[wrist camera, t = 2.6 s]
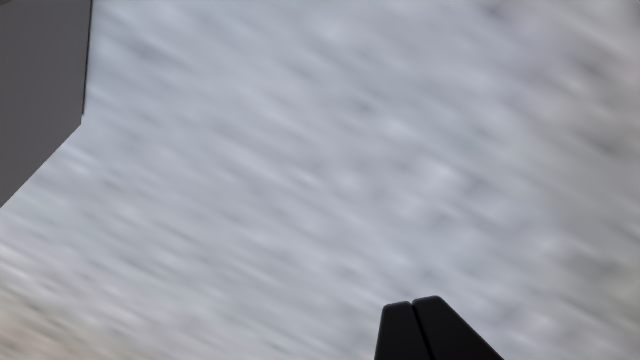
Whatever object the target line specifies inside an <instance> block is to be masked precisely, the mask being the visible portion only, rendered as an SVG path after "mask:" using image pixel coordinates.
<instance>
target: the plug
mask: <svg viewBox="0 0 640 360" xmlns="http://www.w3.org/2000/svg"><path fill="white" fill-rule="evenodd" d="M90 4H91V0H0V208H1V207H2V206H3V205H4V204H5V203H6V202H7V201H8V200H9V199H10V198H11V197H12V195H13V194H14V193H15V192H16V191H17V190H18V189H19V188H20V187H21V186H22V185H23V184H24V183H25V182H26V181H27V180H28V179H29V178H30V177H31V176H32V175H33V174H34V173H35V171H36V170H37V169H38V168H39V167H40V166H41V165H42V164H43V163H44V162H45V161H46V160H47V159H48V158H49V157H50V156H51V155H52V154H53V153H54V152H55V151H56V150H57V149H58V147H59V146H60V145H61V144H62V143H63V142H64V141H65V140H66V139H67V138H68V137H69V136H70V135H71V134H72V133H73V132H74V131H75V130H76V129H77V128H78V127H79V126H80V125H81V117H82V105H83V92H84V80H85V67H86V54H87V42H88V29H89V17H90Z"/></svg>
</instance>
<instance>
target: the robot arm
mask: <svg viewBox="0 0 640 360" xmlns="http://www.w3.org/2000/svg"><path fill="white" fill-rule="evenodd" d="M374 360H504V359H503V358H502V357H501V356H500V355H499V354H498V353H497V352H496V351H495V350H494V349H493V348H492V347H491V346H490V345H489V344H488V343H487V342H486V341H485V340H484V339H483V338H482V337H481V336H480V335H479V334H478V333H477V332H476V331H475V330H474V329H473V328H472V327H471V326H470V325H468V324H467V323H466V322H465V321H464V320H463V319H462V318H461V317H460V316H459V315H458V314H457V313H456V312H455V311H454V310H453V309H452V308H451V307H450V306H449V305H448V304H447V303H446V302H445V301H444V300H443V299H442V298H441V297H439V296H429V297H424V298H419V299H415V300H413V301H412V304H411V303H410V302H408V301H403V302H398V303H392V304H387V305H385V306H384V307H383V309H382V315H381V321H380V327H379V333H378V339H377V345H376V351H375V357H374Z"/></svg>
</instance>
